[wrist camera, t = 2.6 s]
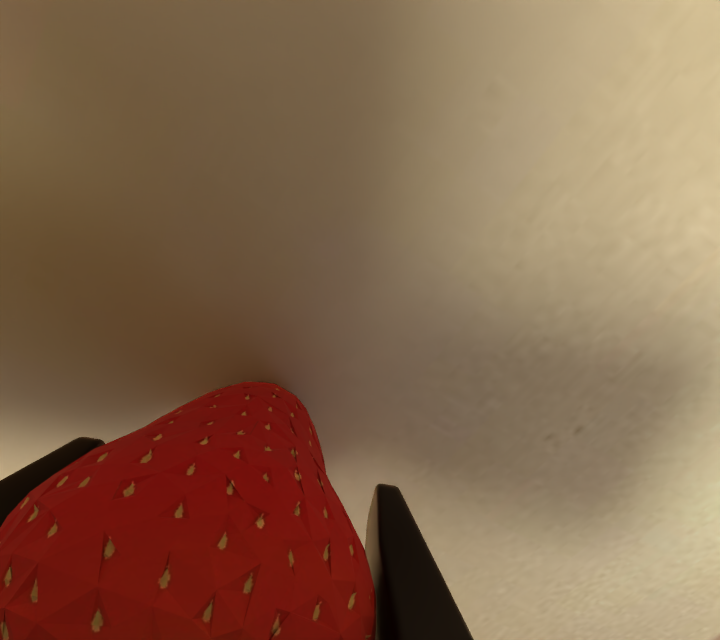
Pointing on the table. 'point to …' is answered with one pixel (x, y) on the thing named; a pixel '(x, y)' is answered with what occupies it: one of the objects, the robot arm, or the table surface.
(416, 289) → the table surface
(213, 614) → the fruit
